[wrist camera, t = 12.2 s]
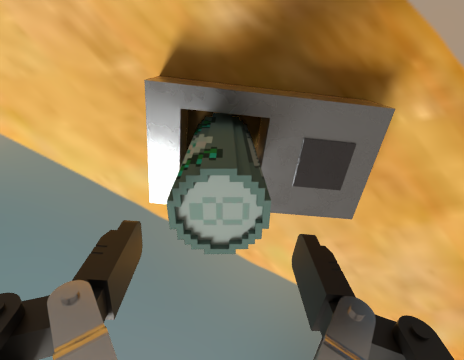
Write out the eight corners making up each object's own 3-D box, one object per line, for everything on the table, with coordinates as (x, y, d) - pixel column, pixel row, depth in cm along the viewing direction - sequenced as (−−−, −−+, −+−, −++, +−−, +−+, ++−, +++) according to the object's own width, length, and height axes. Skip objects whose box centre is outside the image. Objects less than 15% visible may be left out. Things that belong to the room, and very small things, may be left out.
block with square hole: (159, 75, 25) (143, 80, 20) (366, 100, 27) (396, 109, 22) (161, 181, 30) (149, 203, 26) (334, 196, 32) (352, 220, 27)
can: (194, 112, 27) (162, 168, 13) (250, 113, 27) (274, 168, 14) (197, 164, 30) (173, 254, 16) (248, 164, 30) (266, 253, 16)
